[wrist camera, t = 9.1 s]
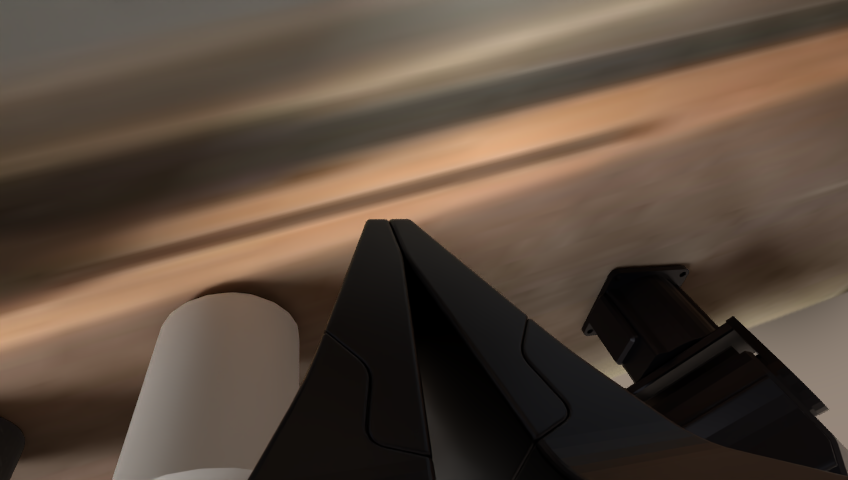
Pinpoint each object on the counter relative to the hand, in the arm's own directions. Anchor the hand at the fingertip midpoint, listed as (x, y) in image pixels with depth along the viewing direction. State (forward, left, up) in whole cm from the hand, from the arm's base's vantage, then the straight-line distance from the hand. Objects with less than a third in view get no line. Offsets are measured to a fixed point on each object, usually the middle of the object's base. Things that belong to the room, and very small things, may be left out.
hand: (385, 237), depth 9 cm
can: (+6, +16, -13) cm, 21 cm away
